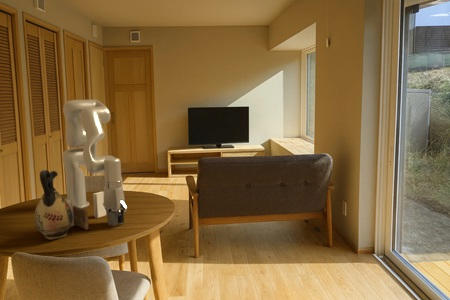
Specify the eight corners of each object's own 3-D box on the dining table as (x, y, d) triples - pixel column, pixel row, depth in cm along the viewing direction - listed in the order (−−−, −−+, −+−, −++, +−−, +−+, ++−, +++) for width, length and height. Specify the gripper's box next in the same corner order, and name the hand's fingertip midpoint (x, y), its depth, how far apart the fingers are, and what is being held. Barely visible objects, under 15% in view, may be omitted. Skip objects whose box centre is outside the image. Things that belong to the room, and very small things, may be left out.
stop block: (108, 224, 203) (107, 212, 202) (117, 221, 207) (117, 209, 206) (113, 226, 200) (113, 213, 199) (123, 222, 205) (122, 210, 204)
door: (75, 223, 205) (74, 205, 203) (88, 228, 196) (87, 210, 195) (69, 224, 203) (67, 206, 201) (82, 230, 194) (80, 212, 192)
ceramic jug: (44, 230, 196) (38, 165, 192) (78, 229, 196) (73, 164, 192) (28, 244, 179) (21, 173, 175) (65, 243, 179) (59, 172, 175)
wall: (62, 227, 200) (59, 202, 198) (103, 214, 219) (101, 191, 217) (65, 228, 198) (63, 203, 196) (106, 215, 218) (105, 191, 216)
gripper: (94, 184, 203) (97, 221, 205) (120, 188, 193) (122, 227, 196) (107, 181, 209) (109, 216, 212) (132, 185, 199) (134, 222, 202)
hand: (115, 221), depth 204 cm, fingers open, 6 cm apart
